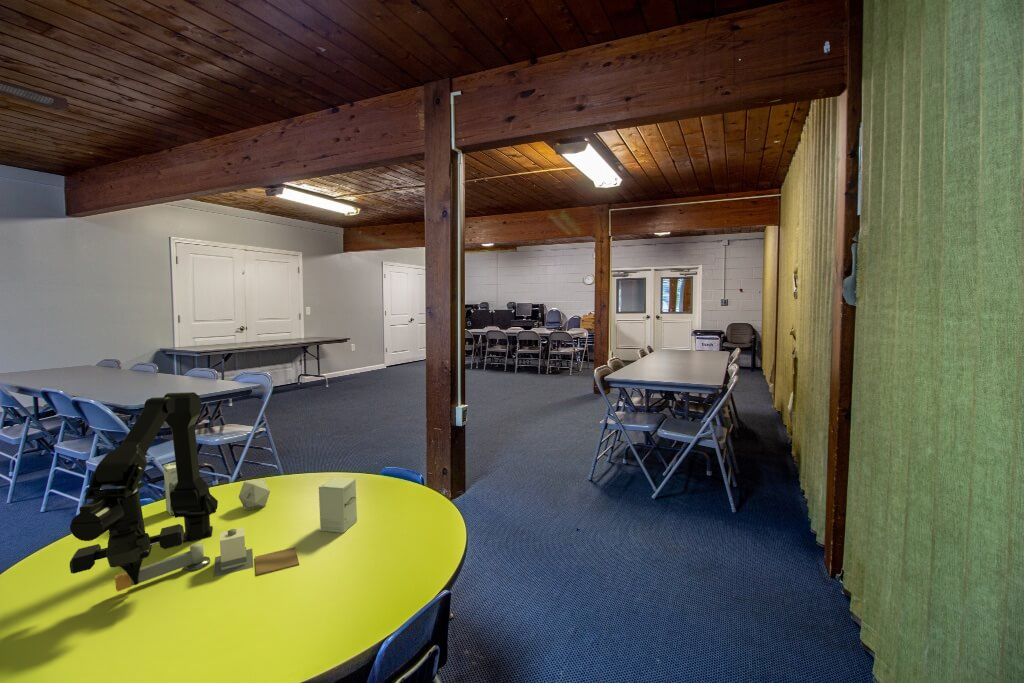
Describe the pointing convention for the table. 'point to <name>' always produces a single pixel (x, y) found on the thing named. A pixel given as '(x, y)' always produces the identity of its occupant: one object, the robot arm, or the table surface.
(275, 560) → the walnut pad
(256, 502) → the die
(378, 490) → the table surface
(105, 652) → the table surface
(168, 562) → the bar
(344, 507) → the supplement box
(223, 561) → the beige tall block
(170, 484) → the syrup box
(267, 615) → the table surface
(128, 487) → the robot arm
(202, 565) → the clip base
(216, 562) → the socket plate
